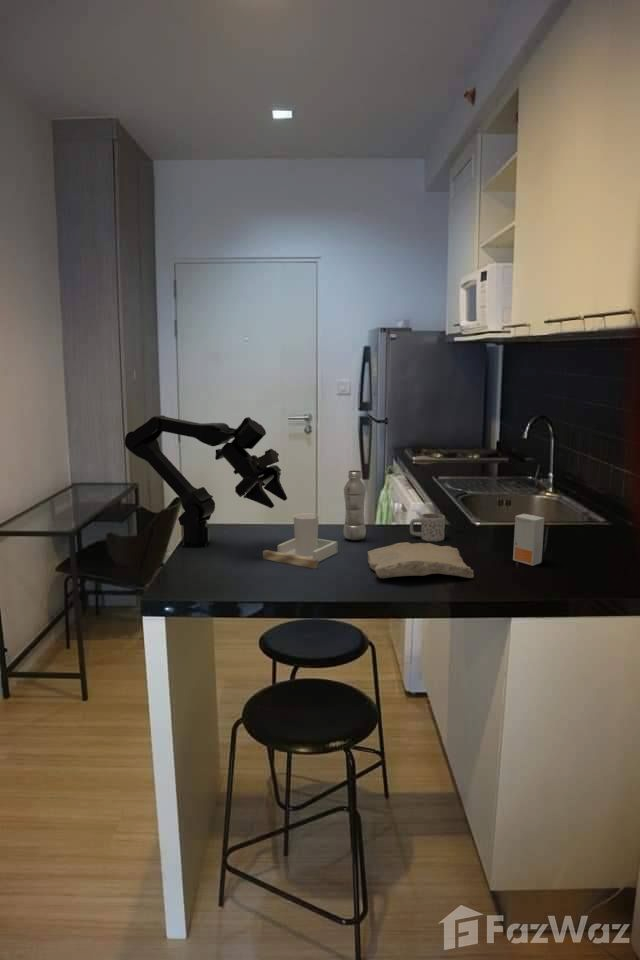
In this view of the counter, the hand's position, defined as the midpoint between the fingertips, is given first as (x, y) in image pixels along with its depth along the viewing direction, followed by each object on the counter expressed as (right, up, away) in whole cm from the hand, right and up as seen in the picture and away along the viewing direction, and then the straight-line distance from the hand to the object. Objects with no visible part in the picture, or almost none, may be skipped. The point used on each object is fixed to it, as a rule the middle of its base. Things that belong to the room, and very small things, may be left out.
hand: (279, 503), depth 178 cm
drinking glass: (+7, -13, 0) cm, 15 cm away
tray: (+7, -14, 0) cm, 16 cm away
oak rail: (+3, -15, -7) cm, 17 cm away
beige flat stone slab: (+35, -17, -14) cm, 41 cm away
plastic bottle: (+21, -11, +14) cm, 28 cm away
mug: (+42, -11, +16) cm, 46 cm away
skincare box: (+64, -15, -7) cm, 66 cm away
